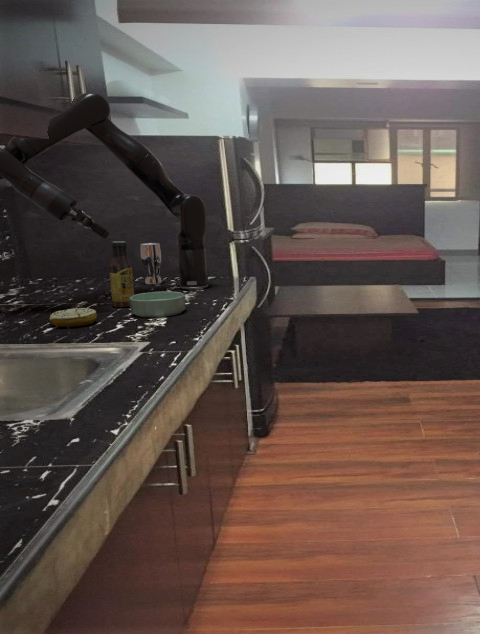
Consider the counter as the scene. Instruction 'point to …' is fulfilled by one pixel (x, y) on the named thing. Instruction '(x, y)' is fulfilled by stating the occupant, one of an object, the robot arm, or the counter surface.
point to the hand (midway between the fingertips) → (106, 234)
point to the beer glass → (151, 262)
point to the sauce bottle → (121, 276)
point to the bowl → (157, 304)
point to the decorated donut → (73, 317)
